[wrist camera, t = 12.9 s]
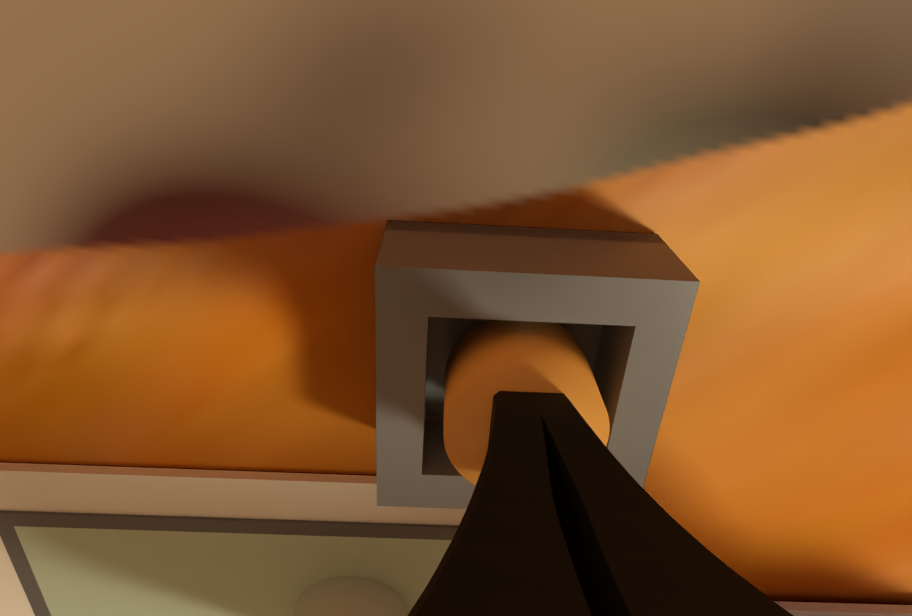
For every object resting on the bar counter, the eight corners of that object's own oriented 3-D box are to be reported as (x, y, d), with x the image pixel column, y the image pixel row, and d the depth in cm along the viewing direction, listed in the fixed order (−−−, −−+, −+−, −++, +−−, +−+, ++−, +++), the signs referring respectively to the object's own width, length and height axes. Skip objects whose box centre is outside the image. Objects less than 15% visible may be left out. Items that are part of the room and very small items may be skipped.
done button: (598, 316, 12) (623, 370, 11) (576, 435, 14) (594, 499, 12) (447, 309, 12) (447, 362, 10) (441, 430, 14) (439, 493, 12)
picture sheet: (582, 483, 16) (585, 493, 16) (535, 704, 22) (536, 715, 21) (-74, 459, 16) (-87, 470, 15) (38, 693, 21) (31, 704, 21)
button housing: (657, 233, 13) (699, 281, 11) (609, 442, 16) (634, 514, 14) (387, 220, 13) (374, 266, 11) (387, 434, 16) (377, 505, 13)
